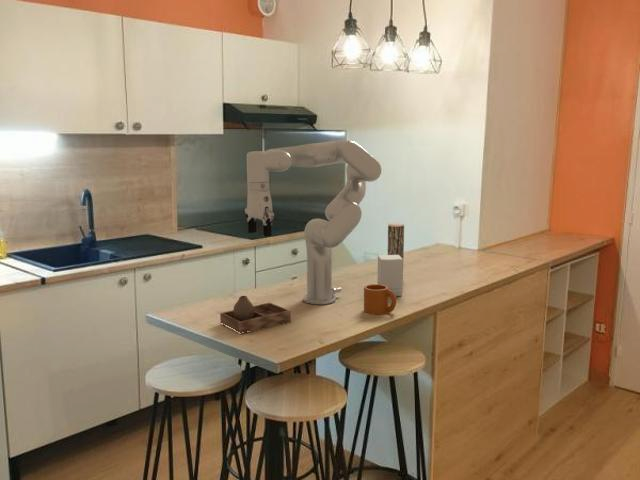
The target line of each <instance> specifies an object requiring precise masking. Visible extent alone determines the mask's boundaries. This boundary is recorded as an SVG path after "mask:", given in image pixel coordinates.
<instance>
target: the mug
mask: <svg viewBox="0 0 640 480" xmlns="http://www.w3.org/2000/svg"><path fill="white" fill-rule="evenodd" d="M396 297H397V296H395V295H394V293H393V292H392V291H391V290H388V286H386V285H381V284H378V283H375V284H373V283H372V284H366V285H364V287H363V311H364V313H366V314H369V315H383V314H387V313H388V314H389V313H392V312H393V311H394V309H395V308H396V306H397V298H396ZM389 298H390V301H391V303H390V305H389Z"/></svg>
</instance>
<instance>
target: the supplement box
mask: <svg viewBox="0 0 640 480" xmlns="http://www.w3.org/2000/svg"><path fill="white" fill-rule="evenodd" d="M403 281H404V258H403V259H402V258H401V257H400V256H399V255H388V254H378V255H377V284H381V285H386V286H388V290H391V291H392V292H393V293H394V295H395V297H403V285H404V284H403V283H404V282H403Z"/></svg>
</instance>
